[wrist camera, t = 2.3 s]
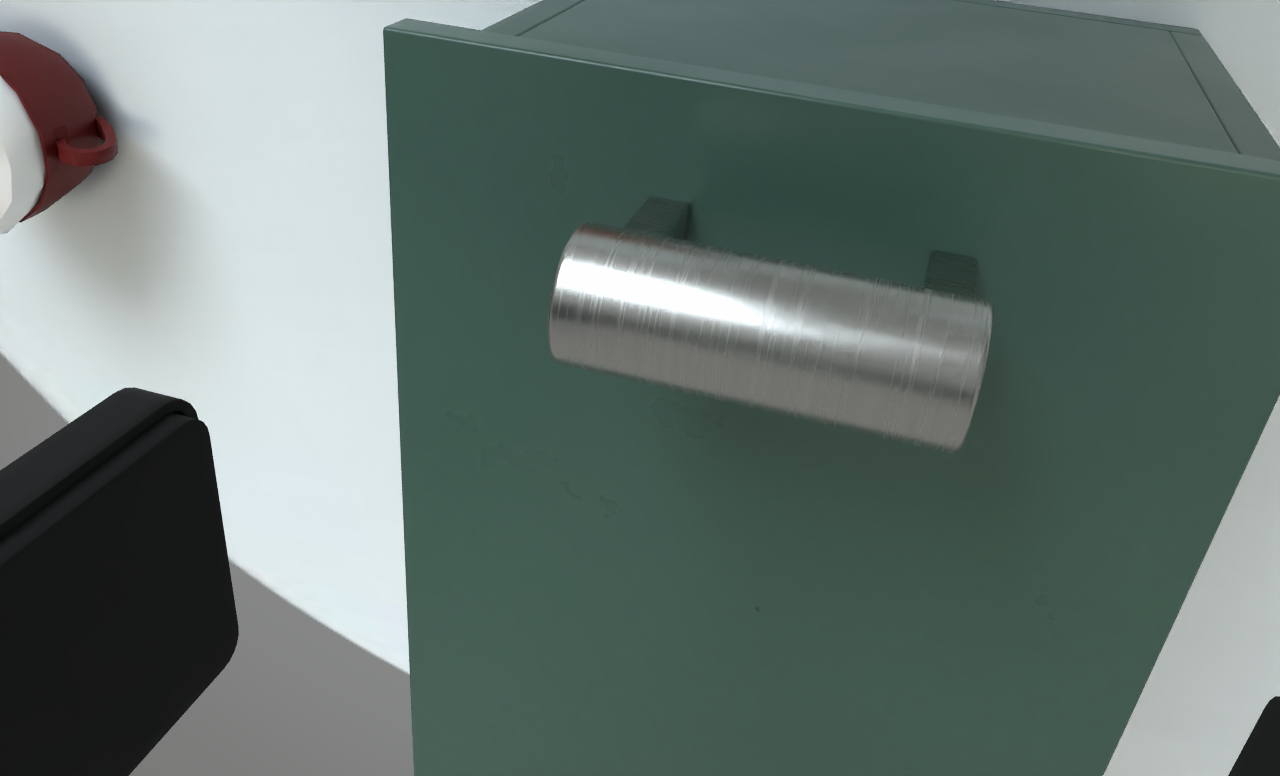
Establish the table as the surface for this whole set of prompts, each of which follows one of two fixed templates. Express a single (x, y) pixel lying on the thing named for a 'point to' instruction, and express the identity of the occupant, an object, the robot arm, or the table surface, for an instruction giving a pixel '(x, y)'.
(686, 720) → the bin lid
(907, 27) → the trash bin
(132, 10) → the table surface
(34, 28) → the table surface
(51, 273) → the table surface
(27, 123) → the cocoa
